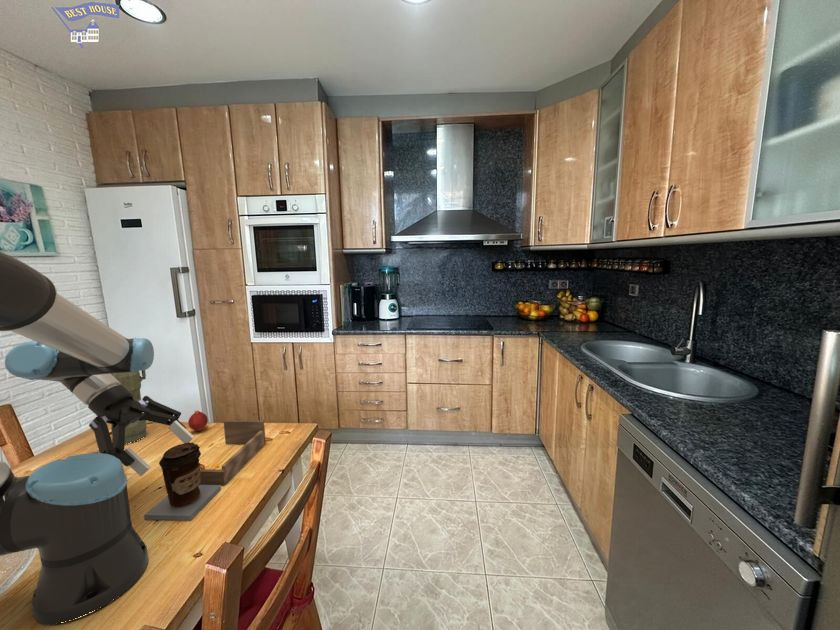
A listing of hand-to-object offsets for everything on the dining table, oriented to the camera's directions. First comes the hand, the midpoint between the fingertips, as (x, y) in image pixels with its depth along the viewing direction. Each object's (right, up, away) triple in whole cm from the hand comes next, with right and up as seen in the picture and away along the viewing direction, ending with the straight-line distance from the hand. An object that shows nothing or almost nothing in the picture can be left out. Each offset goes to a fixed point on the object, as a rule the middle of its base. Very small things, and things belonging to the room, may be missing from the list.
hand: (169, 455), depth 82 cm
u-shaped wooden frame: (+3, -10, +18) cm, 21 cm away
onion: (-18, -8, +38) cm, 43 cm away
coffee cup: (+4, -11, 0) cm, 12 cm away
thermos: (-38, -8, +33) cm, 51 cm away
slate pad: (+3, -12, 0) cm, 13 cm away
